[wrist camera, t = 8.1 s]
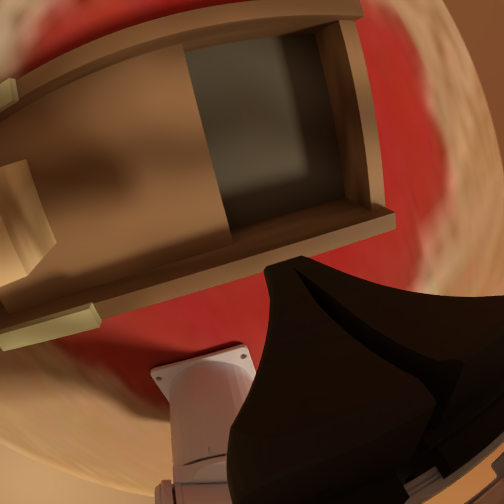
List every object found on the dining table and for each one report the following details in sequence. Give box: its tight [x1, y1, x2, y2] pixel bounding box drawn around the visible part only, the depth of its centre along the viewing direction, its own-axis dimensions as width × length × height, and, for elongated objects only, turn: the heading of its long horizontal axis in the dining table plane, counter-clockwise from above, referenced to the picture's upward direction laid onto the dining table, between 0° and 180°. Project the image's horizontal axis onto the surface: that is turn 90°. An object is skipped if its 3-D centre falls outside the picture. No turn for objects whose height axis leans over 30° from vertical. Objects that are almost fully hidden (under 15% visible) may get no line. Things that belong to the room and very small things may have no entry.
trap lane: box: [0, 0, 396, 351], centre depth 13 cm, size 13×34×5 cm, turn 103°
